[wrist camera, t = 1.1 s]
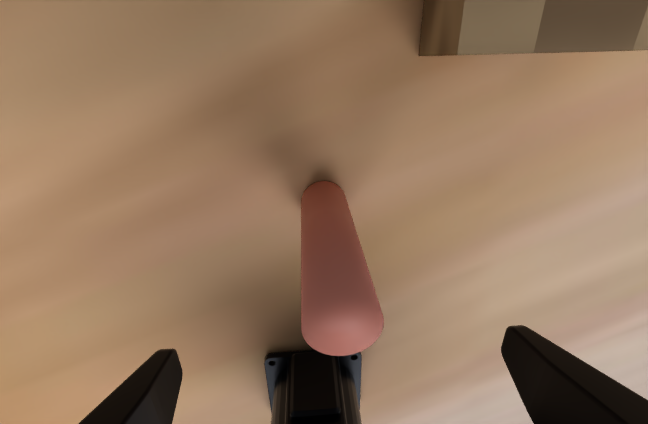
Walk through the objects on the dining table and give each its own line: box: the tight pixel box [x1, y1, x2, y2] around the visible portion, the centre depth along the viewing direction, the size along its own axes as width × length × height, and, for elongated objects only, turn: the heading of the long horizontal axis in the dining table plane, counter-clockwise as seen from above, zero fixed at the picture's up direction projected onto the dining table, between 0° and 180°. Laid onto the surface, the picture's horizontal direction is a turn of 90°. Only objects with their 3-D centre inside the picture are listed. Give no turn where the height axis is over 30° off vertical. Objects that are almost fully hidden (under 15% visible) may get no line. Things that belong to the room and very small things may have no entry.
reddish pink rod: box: [301, 181, 384, 356], centre depth 13 cm, size 2×2×9 cm
